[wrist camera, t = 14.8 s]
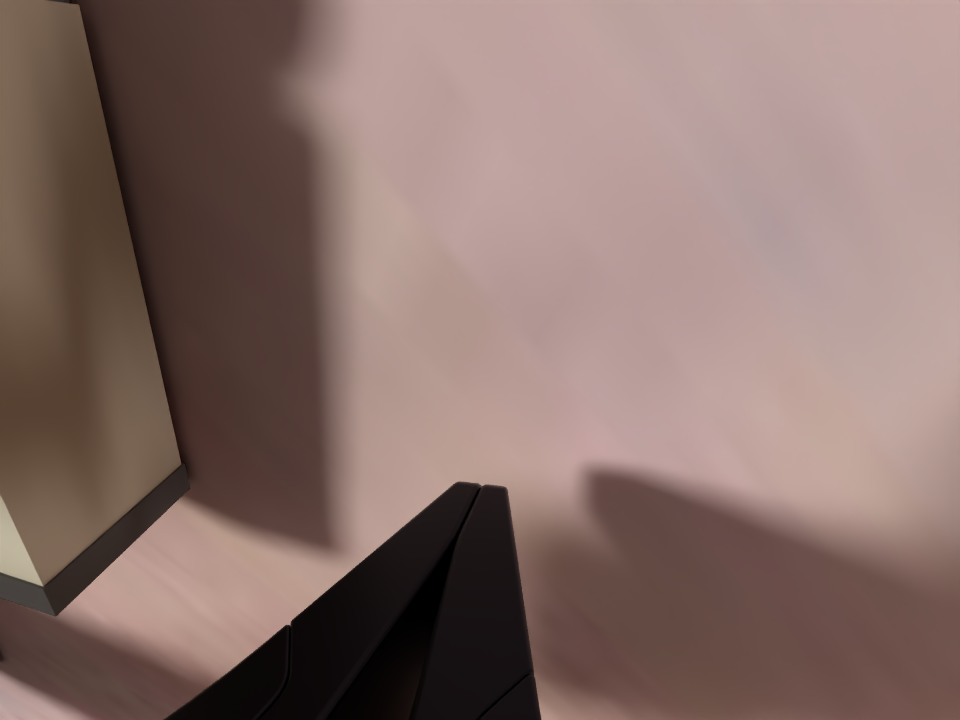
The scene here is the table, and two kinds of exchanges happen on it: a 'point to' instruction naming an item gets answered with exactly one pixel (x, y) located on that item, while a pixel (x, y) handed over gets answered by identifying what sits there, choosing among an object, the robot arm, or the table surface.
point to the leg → (69, 327)
